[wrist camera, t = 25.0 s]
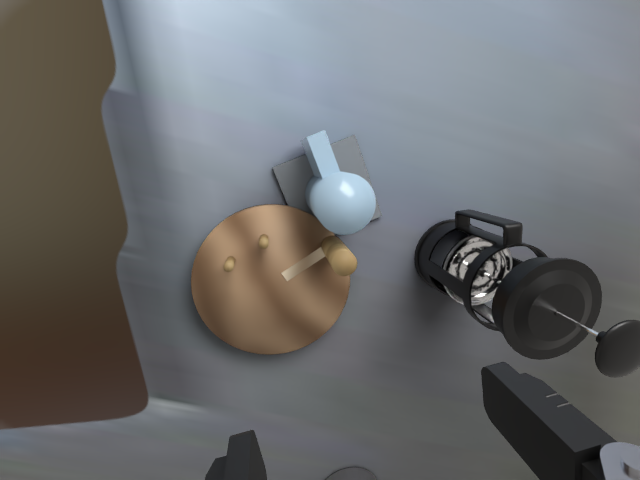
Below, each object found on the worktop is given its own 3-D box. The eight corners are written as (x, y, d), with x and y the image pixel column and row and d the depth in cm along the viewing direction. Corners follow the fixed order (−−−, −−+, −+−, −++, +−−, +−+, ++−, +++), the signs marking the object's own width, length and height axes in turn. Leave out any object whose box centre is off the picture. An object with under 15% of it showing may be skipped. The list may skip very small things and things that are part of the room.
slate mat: (380, 215, 41) (382, 215, 41) (304, 246, 41) (305, 247, 40) (353, 135, 39) (355, 134, 38) (272, 167, 38) (272, 167, 38)
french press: (481, 288, 46) (678, 409, 24) (415, 297, 45) (557, 434, 23) (483, 202, 43) (711, 249, 21) (413, 210, 42) (575, 269, 20)
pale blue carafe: (359, 207, 40) (383, 220, 31) (315, 225, 40) (328, 244, 31) (330, 128, 38) (349, 119, 29) (284, 147, 37) (288, 144, 29)
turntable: (295, 171, 38) (303, 175, 29) (374, 294, 43) (399, 326, 34) (160, 262, 38) (130, 290, 30) (254, 373, 43) (251, 424, 35)
